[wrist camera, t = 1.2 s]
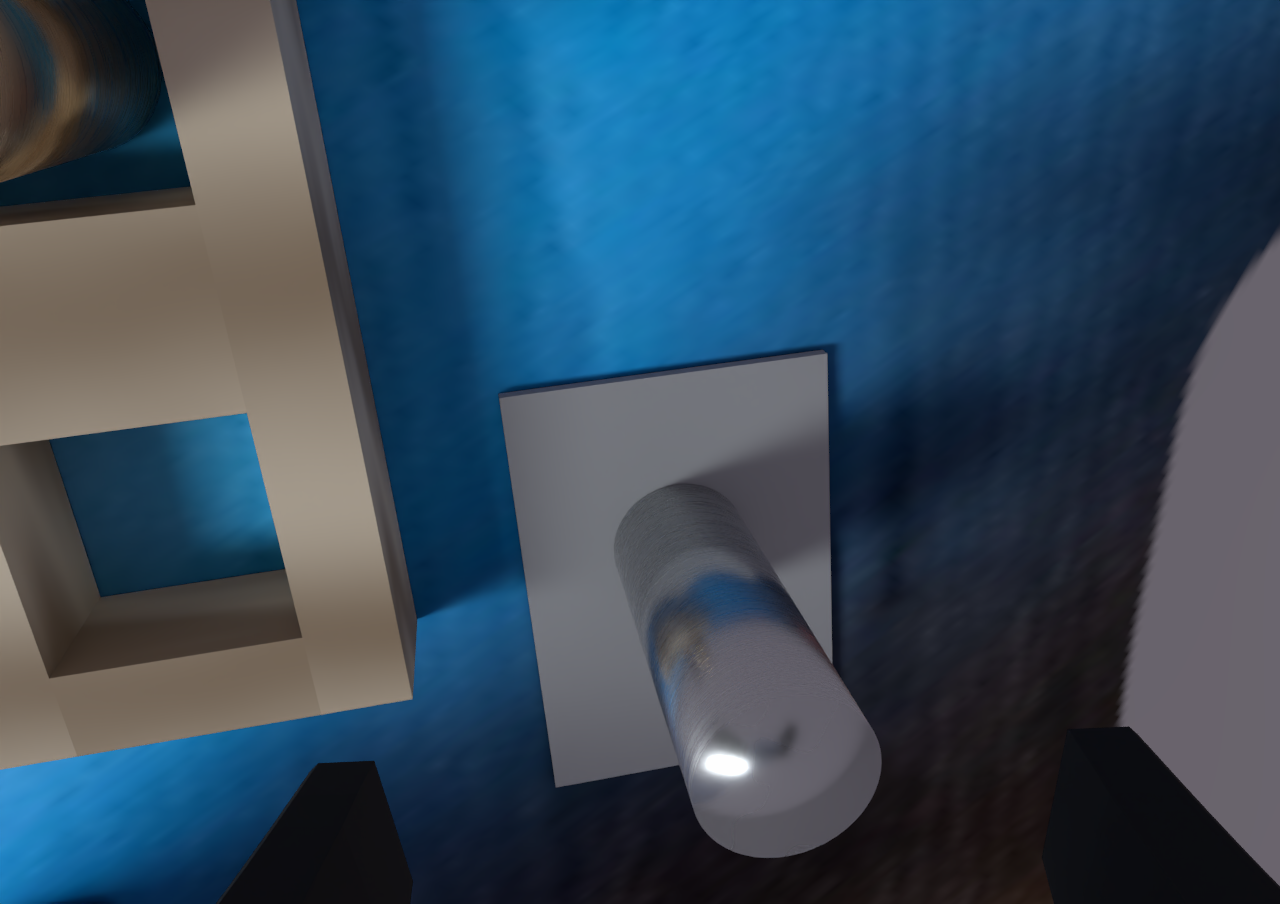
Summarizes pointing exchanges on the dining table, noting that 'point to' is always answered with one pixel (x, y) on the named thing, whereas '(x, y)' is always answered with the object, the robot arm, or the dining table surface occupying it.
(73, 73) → the bronze peg
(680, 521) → the grey peg
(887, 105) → the dining table surface
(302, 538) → the hole block
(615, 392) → the mat
